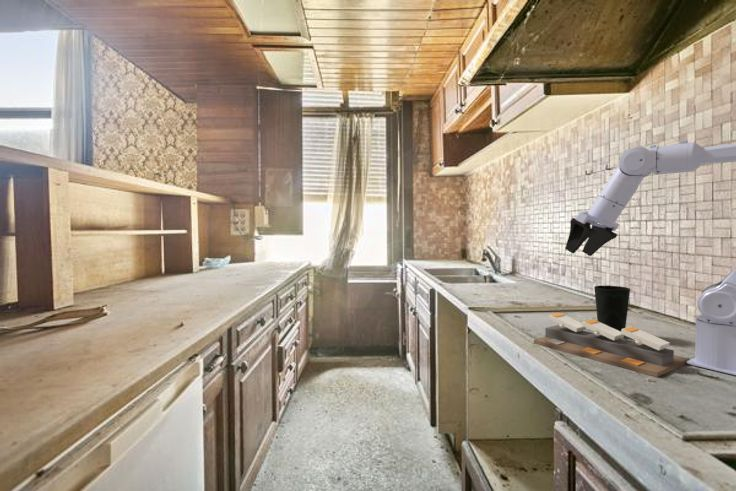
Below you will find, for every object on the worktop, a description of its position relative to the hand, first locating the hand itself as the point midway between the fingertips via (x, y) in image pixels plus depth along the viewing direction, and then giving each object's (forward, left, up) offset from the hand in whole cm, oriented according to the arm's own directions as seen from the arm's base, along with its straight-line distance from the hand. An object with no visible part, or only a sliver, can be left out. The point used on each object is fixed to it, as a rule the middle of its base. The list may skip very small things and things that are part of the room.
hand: (578, 252), depth 90 cm
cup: (-1, -13, -22) cm, 25 cm away
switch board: (-8, +3, -21) cm, 23 cm away
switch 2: (-7, +3, -18) cm, 19 cm away
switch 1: (+1, +3, -18) cm, 18 cm away
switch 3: (-15, +3, -18) cm, 23 cm away
